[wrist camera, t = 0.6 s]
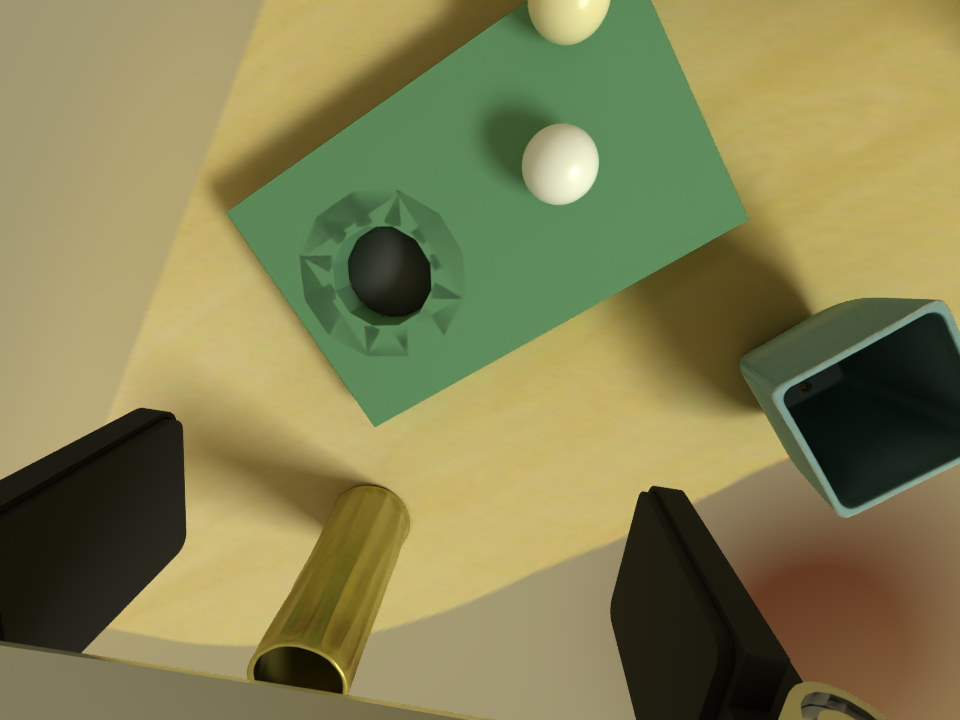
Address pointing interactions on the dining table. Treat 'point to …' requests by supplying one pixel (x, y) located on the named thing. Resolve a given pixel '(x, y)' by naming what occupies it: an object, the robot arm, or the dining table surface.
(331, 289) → the putting mat
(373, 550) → the vase
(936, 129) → the dining table surface
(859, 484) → the flower pot
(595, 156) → the white ball
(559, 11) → the yellow ball
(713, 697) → the robot arm
